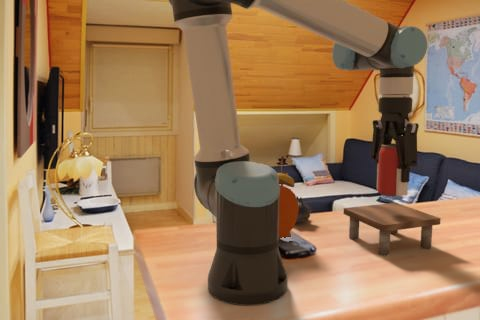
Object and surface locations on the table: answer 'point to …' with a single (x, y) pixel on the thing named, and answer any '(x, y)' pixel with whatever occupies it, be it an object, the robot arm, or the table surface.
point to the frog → (303, 211)
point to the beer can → (387, 169)
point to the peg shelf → (391, 222)
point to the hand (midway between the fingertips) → (391, 192)
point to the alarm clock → (286, 205)
